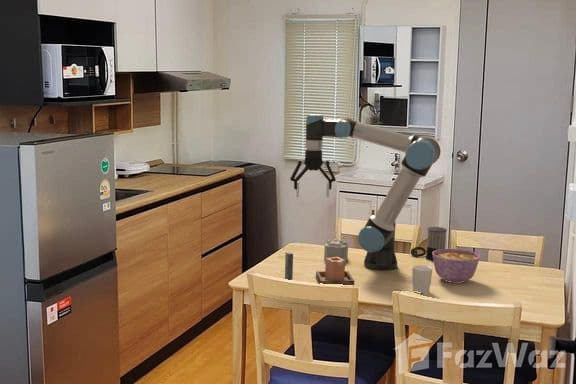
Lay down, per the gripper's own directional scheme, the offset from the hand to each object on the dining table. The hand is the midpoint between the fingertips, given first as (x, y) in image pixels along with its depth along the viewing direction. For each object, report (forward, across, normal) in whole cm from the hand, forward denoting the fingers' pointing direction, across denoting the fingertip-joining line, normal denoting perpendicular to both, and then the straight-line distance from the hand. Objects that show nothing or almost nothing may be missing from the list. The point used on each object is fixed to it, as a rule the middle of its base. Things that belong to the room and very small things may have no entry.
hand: (312, 196), depth 322 cm
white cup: (+32, -40, +40) cm, 65 cm away
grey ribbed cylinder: (+32, -58, -12) cm, 68 cm away
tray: (+32, -7, +25) cm, 41 cm away
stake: (+32, +12, +20) cm, 39 cm away
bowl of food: (+32, -59, +25) cm, 72 cm away
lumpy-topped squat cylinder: (+32, -14, -12) cm, 37 cm away
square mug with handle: (+31, -7, +25) cm, 40 cm away
